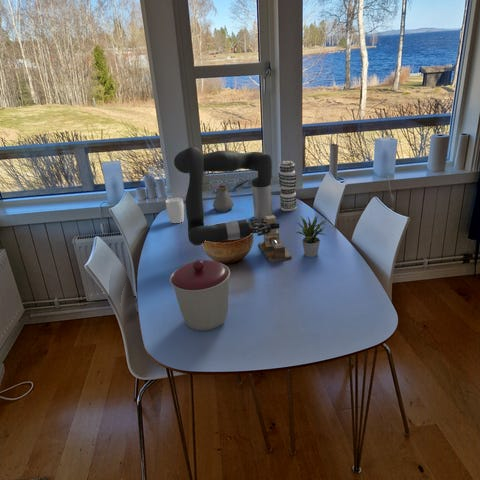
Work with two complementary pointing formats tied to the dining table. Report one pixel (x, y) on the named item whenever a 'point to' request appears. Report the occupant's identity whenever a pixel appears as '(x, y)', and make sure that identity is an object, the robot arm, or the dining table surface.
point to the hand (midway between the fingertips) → (277, 223)
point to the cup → (175, 209)
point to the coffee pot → (224, 198)
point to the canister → (202, 293)
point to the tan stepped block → (273, 232)
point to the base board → (275, 252)
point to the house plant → (311, 236)
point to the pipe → (274, 241)
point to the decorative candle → (287, 186)
